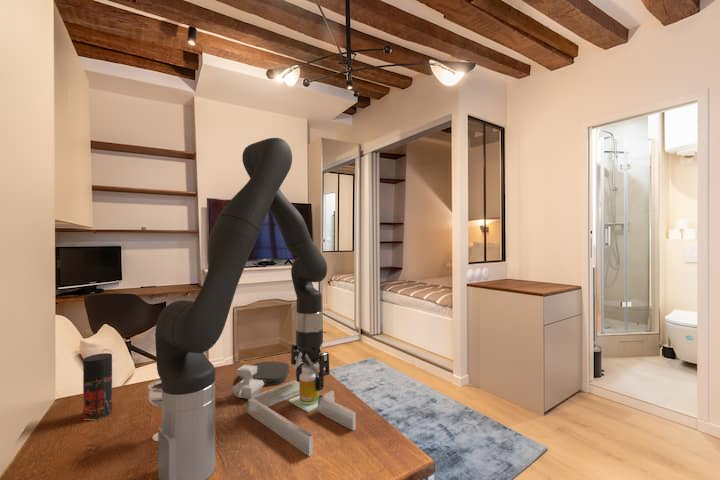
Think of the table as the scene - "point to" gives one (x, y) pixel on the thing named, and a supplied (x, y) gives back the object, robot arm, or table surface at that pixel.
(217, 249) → the robot arm
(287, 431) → the channel
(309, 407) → the pad
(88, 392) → the deodorant
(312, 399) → the supplement bottle
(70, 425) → the table surface
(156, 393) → the wineglass
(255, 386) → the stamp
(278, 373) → the media streaming box
